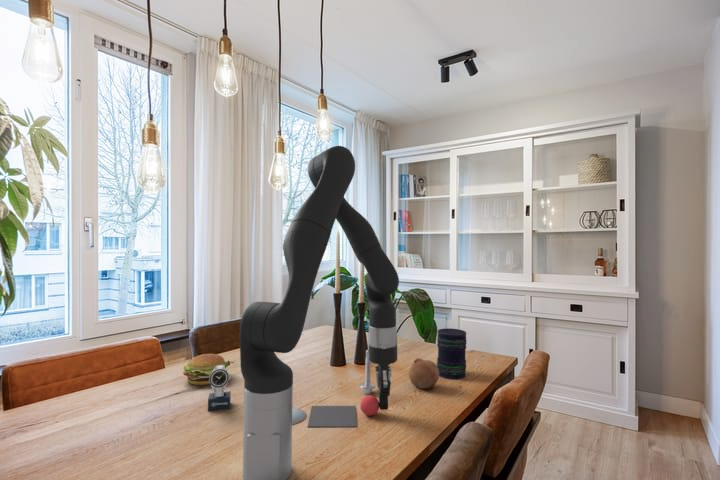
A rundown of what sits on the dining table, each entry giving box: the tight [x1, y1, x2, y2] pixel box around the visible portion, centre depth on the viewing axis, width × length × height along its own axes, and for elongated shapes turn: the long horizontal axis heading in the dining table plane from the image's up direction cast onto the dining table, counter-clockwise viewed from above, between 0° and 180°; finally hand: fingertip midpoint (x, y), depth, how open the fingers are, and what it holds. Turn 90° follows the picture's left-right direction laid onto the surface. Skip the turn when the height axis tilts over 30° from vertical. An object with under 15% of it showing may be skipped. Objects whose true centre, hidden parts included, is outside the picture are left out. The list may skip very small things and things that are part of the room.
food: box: [183, 353, 231, 386], centre depth 127 cm, size 14×14×8 cm
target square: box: [307, 405, 358, 428], centre depth 101 cm, size 12×12×1 cm
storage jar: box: [436, 328, 467, 381], centre depth 135 cm, size 10×10×15 cm
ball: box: [359, 394, 380, 416], centre depth 103 cm, size 5×5×5 cm
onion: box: [408, 357, 440, 390], centre depth 122 cm, size 10×9×10 cm
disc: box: [292, 407, 307, 425], centre depth 101 cm, size 10×10×1 cm
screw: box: [359, 349, 377, 395], centre depth 118 cm, size 13×5×5 cm
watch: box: [207, 365, 232, 412], centre depth 106 cm, size 6×8×11 cm
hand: (383, 408), depth 102 cm, fingers closed
